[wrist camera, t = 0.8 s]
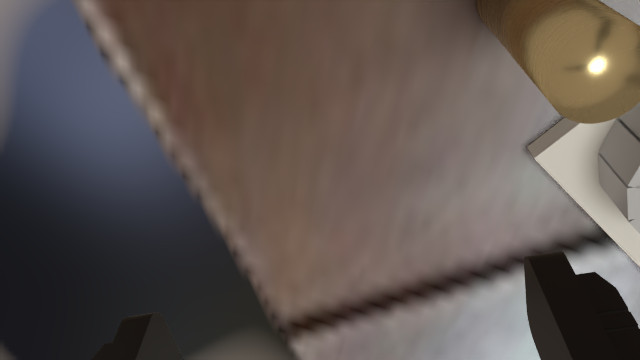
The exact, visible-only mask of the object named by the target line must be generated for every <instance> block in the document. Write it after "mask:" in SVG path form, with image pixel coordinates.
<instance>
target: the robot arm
mask: <svg viewBox="0 0 640 360" xmlns="http://www.w3.org/2000/svg"><path fill="white" fill-rule="evenodd" d="M524 270H525V287H526V304H527V315H528V321H529V326H530V330H531V333H532V337H533V340H534V343H535V345H536V348H537V350H538V353H539V356H540V358H541V360H640V329H639V328H638V324H637V322H636V321H635V319H634V317H633V316H632V314H631V312H629V311H628V307H627V306H626V304H625V302H624V301H623V299H622V297H621V295H620V294H619V292H618V290H617V289H616V288H615V287H614V286H613V285H611V284H610V283H609V282H607V281H606V280H605V279H603V278H602V277H601V276H599V275H598V274H597V273H595V272H591V273H584V274H578V275H575V273H574V271H573V269H572V267H571V265H570V263H569V261H568V259H567V257H566V256H565V254H564V253H563V252H562V251H559V252H552V253H546V254H539V255H533V256H526V257H525V259H524ZM91 360H184V359H183V357H182V355H181V353H180V351H179V349H178V346H177V344H176V342H175V340H174V338H173V336H172V334H171V332H170V330H169V328H168V326H167V324H166V322H165V320H164V318H163V316H162V315H161V314H160V313H150V314H144V315H137V316H131V317H126V318H124V319H123V320H122V322H121V324H120V326H119V329H118V331H117V334H116V336H115V338H114V340H113V343H107V344H104V345H103V346H102V347H101V349H100V350H99V351H98V352H97V353H96V354H95V355H94V357H93V358H92V359H91Z"/></svg>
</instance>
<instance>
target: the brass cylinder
mask: <svg viewBox="0 0 640 360" xmlns="http://www.w3.org/2000/svg"><path fill="white" fill-rule="evenodd" d="M476 5H477V10H478V13H479V15H480V17H481V19H482V20H483V22H484V23H485V24H486V25H487V26H488V28H489V29H490V30H491V31H492V33H493V34H494V35H495V36H496V37H497V39H498V40H499V41H500V42H501V44H502V45H503V46H504V47H505V48H506V50H507V51H508V52H509V53H510V54H511V56H512V57H513V58H514V59H515V61H516V62H517V63H518V64H519V65H520V67H521V68H522V69H523V70H524V72H525V73H526V74H527V75H528V76H529V78H530V79H531V80H532V81H533V83H534V84H535V85H536V86H537V87H538V89H539V90H540V91H541V92H542V93H543V95H544V96H545V97H546V98H547V100H548V101H549V102H550V103H551V104H552V106H553V107H554V108H555V109H556V110H557V111H558V112H559V113H560V114H561V115H562V116H564V117H565V118H567V119H569V120H571V121H575V122H578V123H584V124H595V123H602V122H606V121H610V120H613V119H615V118H617V117H620V116H621V115H623V114H625V113H627V112H628V111H630V110H631V109H632V108H634V107H635V106H636V105H637V104H638V103H639V102H640V26H639V25H637V24H636V23H634V22H632V21H631V20H629V19H628V18H626V17H624V16H623V15H621V14H620V13H618V12H616V11H615V10H613V9H612V8H610V7H608V6H607V5H605V4H604V3H602V2H601V1H599V0H476Z"/></svg>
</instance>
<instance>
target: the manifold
mask: <svg viewBox="0 0 640 360" xmlns="http://www.w3.org/2000/svg"><path fill="white" fill-rule="evenodd" d="M527 148H528V150H529V151H530V153H531V154H532V156H533V158H534V159H535V160H536V161H537V162H538V163H539V164H540V165H541V166H542V167H543V168H544V169H545V170H546V171H547V172H548V173H549V174H550V175H551V176H552V177H553V178H554V179H555V180H556V181H557V182H558V184H559V185H560V186H561V187H562V188H563V189H564V190H565V191H566V192H567V193H568V194H569V195H570V196H571V197H572V198H573V199H574V200H575V201H576V202H577V203H578V204H579V205H580V206H581V207H582V208H583V209H584V210H585V211H586V212H587V213H588V214H589V215H590V216H591V217H592V218H593V219H594V220H595V221H596V223H597V224H598V225H599V226H600V227H601V228H602V229H603V230H604V231H605V232H606V233H607V234H608V235H609V236H610V237H611V238H612V239H613V240H614V241H615V242H616V243H617V244H618V245H619V246H620V247H621V248H622V249H623V250H624V251H625V252H626V253H627V254H628V255H629V256H630V257H631V258H632V259H633V261H634V262H635V263H636V264H637V265H638V266H639V267H640V102H639V103H638V104H637V105H636V106H635V107H634V108H632V109H631V110H630V111H628V112H627V113H625V114H623V115H621V116H620V117H617V118H615V119H613V120H610V121H606V122H602V123H595V124H584V123H578V122H575V121H571V120H569V119H567V118H563V119H562V120H561V121H559V122H558V123H557V124H556V125H554V126H553V127H552V128H550V129H549V130H548V131H547V132H545V133H544V134H543V135H541V136H540V137H539V138H538V139H536V140H535V141H534V142H532V143H531V144H530V145H529V146H527Z"/></svg>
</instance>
